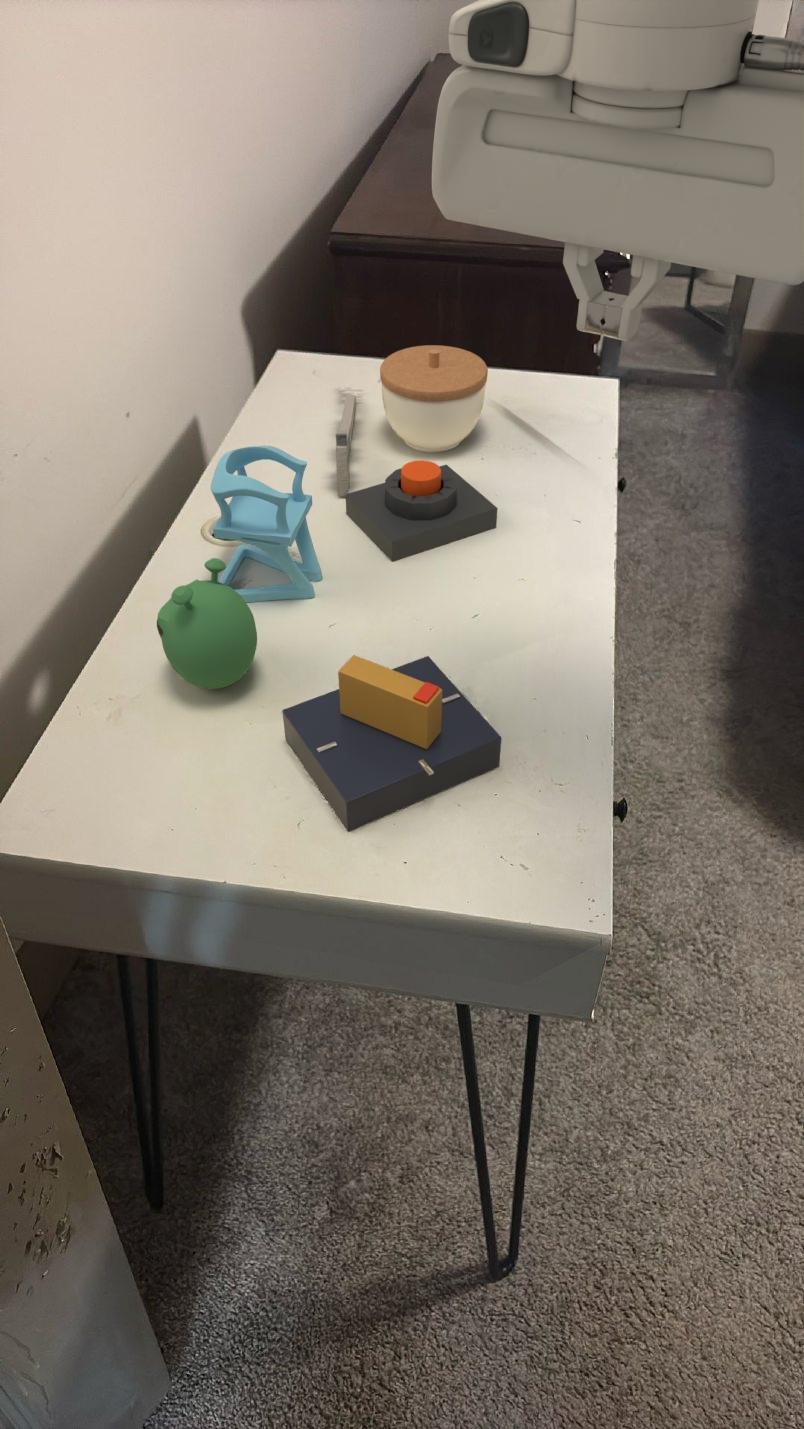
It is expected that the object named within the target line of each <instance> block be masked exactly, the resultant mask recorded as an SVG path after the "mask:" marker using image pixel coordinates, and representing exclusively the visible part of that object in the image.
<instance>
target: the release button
mask: <svg viewBox="0 0 804 1429" xmlns="http://www.w3.org/2000/svg"><path fill="white" fill-rule="evenodd" d="M401 468H402V469H401ZM401 468H400V469H401V488H402V490H403V492H404V493H407V494H410V495H413V496H429V495H432V494H435V493H438V492H439V490H440V488H441V469H440V467H439V465H438V464H437V463H435V462H433V461H429V460H425V459H424V460H421V459H420V460H418V459H417V460H412V461H408V462H407V463H405V464H404V465H403V466H402V467H401Z"/></svg>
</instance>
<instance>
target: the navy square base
mask: <svg viewBox="0 0 804 1429" xmlns="http://www.w3.org/2000/svg"><path fill="white" fill-rule="evenodd" d="M390 669H391V670H394V671H396V672H399V673H402V674H404V675H407V676H409V677H412V678H414V679H417V680H420V681H422V682H428V683H431V684H433V685H436V686H438V687H439V688H440V689H442V716H441V732H440V734H439V735H438V736H437V737H436V739H435V740H434V741H433V742H432V744H431V745H430V746H429V747H428V749H425V748H422V747H420V746H417V745H415V744H413V743H410V742H408V741H405V740H403V739H401V738H398V737H396V736H394V735H391V734H389V733H386V732H384V731H382V730H379V729H377V728H374V727H372V726H370V725H367V724H365V723H362V722H360V721H358V720H355V719H353V718H350V717H348V716H346V715H343V714H341V710H340V694H339V688H338V689H335V690H331V691H329V692H327V693H324V694H322V695H319V696H316V697H313V698H311V699H308V700H306V701H302V702H300V703H297V704H293V705H292V706H289V707H287V708H284V709H282V711H281V712H282V720H283V728H284V737H285V741H286V743H287V744H288V745H289V747H290V748H291V750H292V752H293V753H294V754H295V756H296V757H297V759H298V760H299V762H300V763H301V765H303V767H304V769H305V771H306V772H307V773H308V775H309V776H310V778H311V779H312V780H313V782H314V784H315V786H316V787H317V789H318V790H319V791H320V793H321V794H322V796H323V797H324V798H325V800H326V801H327V803H328V805H329V806H330V807H331V809H332V810H333V811H334V813H335V815H336V817H338V819H339V820H340V822H341V824H342V825H343V826H344V828H345V829H346V831H347V832H352V831H354V830H356V829H358V828H361V827H363V826H366V825H367V824H370V823H372V822H375V821H377V820H379V819H382V818H384V817H386V816H388V815H392V814H393V813H395V812H398V811H401V810H403V809H405V808H408V807H410V806H412V805H414V804H416V803H419V802H420V801H423V800H426V799H429V798H431V797H433V796H436V795H437V794H440V793H443V792H444V791H447V790H449V789H451V788H453V787H456V786H458V785H461V784H463V783H466V782H467V781H471V780H472V779H475V778H476V777H479V776H481V775H485V774H487V773H488V772H491V771H493V770H496V769H497V768H499V767H500V761H501V748H502V740H503V739H502V736H501V735H500V734H499V733H498V732H497V731H496V730H495V728H493V726H492V724H490V723H489V722H488V720H486V718H484V716H483V715H482V714H481V713H480V711H478V709H477V708H476V707H475V706H474V705H473V704H472V703H471V702H470V701H469V699H468V698H467V697H466V696H465V695H464V694H463V693H462V692H461V691H460V689H458V688H457V686H456V685H455V684H454V683H453V682H452V680H450V678H449V677H448V676H447V675H446V674H445V672H443V671H442V669H441V668H440V667H439V666H438V665H437V664H436V663H435V662H434V660H433V659H432V658H431V657H430V656H429V655H427V656H424V657H421V658H418V659H415V660H413V661H410V662H408V663H407V662H406V663H405V664H402V665H399V666H396V667H394V668H390Z"/></svg>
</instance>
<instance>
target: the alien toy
mask: <svg viewBox="0 0 804 1429" xmlns="http://www.w3.org/2000/svg"><path fill="white" fill-rule="evenodd" d="M204 567H205V569H206V570H207V571H208V572H210V573H211V577H210V579H207V580H206V579H205V580H199V579H194V580H193V581H191V582H190V583H187V584H186V585H179V586H178V587H176V588H174V589H173V591H172V593H171V595H170V598H169V599H168V600H167V601H166V602H165V603H164V605H162V607H161V608H160V609H159V611H158V612H157V619H156V628H157V632H158V635H159V637H160V639H161V645H162V650H163V652H164V654H165V656H166V659H167V661H168V662H169V664H170V666H171V668H172V669H173V671H175V673H176V674H177V675H178V676H179V677H181V678H182V680H184V681H185V682H187V683H188V684H190V685H193V686H195V687H197V688H200V689H201V688H202V689H205V690H218V689H223V688H227V687H229V686H231V685H233V684H235V683H236V682H238V681H239V680H240V679H241V678H243V677H244V675H245V674H246V673H247V672H248V670H249V669H250V667H251V665H252V663H253V661H254V659H255V655H256V652H257V651H256V650H257V647H258V646H257V645H258V632H257V625H256V620H255V617H254V614H253V612H252V609H251V608H250V606H249V605H248V602H245V600H244V599H243V598H242V596H241V595H240V594H239V593H237V592H236V591H235V590H236V589H233V588H232V587H231V586H227V585H225V584H223V583H220V582H219V580H218V579H219V578H218V577H219V573H221V572H224V571H225V569H226V567H227V564H226V563H225V562H224V561H222V560H221V559H220V558H217V557H212V558H210V559H208V560H206V561H205V562H204Z"/></svg>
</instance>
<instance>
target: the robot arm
mask: <svg viewBox="0 0 804 1429" xmlns="http://www.w3.org/2000/svg"><path fill="white" fill-rule="evenodd" d="M759 2H760V0H476V1H475V2H472V3H470V4H468V5H465V6H463V7H462V8H459V9H458V10H456V11H455V12H454V13H453V14H452V16H451V17H450V21H449V25H448V49H449V54H450V56H451V58H452V59H453V61H455V62H456V63H457V64H460V65H461V66H459V67H457V68H455V69H454V70H453V71H452V72H451V73H450V74H449V75H448V76H447V78H446V80H445V82H444V84H443V85H442V88H441V91H440V95H439V98H438V102H437V108H436V116H435V125H434V135H433V145H432V160H431V161H432V163H431V193H432V197H433V200H434V202H435V204H436V205H437V206H436V207H438V209H439V211H440V213H441V215H442V216H443V217H444V219H446V220H448V221H452V222H457V223H463V224H469V225H473V226H479V227H484V228H489V229H494V230H500V231H505V232H510V233H515V234H520V235H524V236H525V235H526V236H531V237H537V238H541V239H548V240H552V241H557V242H563V243H564V250H563V256H562V257H563V258H562V265H563V268H564V269H565V272H566V274H567V277H568V280H569V282H570V285H571V286H572V289H573V292H574V295H575V296H576V299H577V300H578V301H579V302H578V310H577V317H576V326H575V327H576V330H577V331H580V332H583V333H589V334H594V335H599V336H602V337H605V338H610V339H615V340H619V341H623V342H629V341H631V340H632V339H633V338H634V337H635V336H636V334H637V333H638V330H639V327H640V323H641V317H642V311H643V303H644V301H646V300H647V298H648V297H649V296H650V294H651V293H652V292H653V291H654V290H655V288H656V287H657V286H658V284H660V282H661V281H662V280H663V279H664V277H665V276H666V274H668V272H669V271H670V269H671V266H672V263H673V264H677V265H681V266H682V265H683V266H687V267H688V266H689V267H694V268H699V269H702V270H703V269H705V270H710V271H715V272H720V273H723V274H724V273H725V274H730V275H735V276H741V277H745V278H750V279H757V280H762V281H767V282H772V283H777V284H782V285H787V286H799V285H801V284H803V283H804V41H799V40H796V39H793V38H789V37H779V36H771V35H766V34H764V35H763V34H753V31H754V26H755V22H756V16H757V11H758V7H759ZM604 251H610V252H615V253H620V254H625V255H630V256H632V261H631V266H630V267H631V269H630V275H631V277H633V278H639V279H640V280H639V281H638V283H637V284H636V285H635V287H633V289H632V291H630V293H629V294H628V295H626V294H621V293H616V292H611V291H608V290H605V288H604V286H603V283H602V279H601V276H600V273H599V270H598V267H597V264H596V260H597V258H599V257H600V256H602V254H604Z"/></svg>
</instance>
